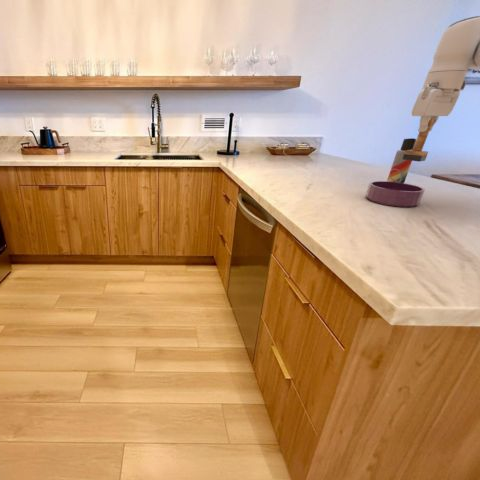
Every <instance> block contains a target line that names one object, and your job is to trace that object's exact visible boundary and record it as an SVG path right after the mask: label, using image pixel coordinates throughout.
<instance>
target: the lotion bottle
mask: <svg viewBox="0 0 480 480" xmlns="http://www.w3.org/2000/svg"><path fill="white" fill-rule="evenodd" d="M416 140H417V138H413V137H412V138H403V141H402V143H401V146H400V149H398V150H396V153H395V155H394V159H393V162H392V164H391V168H390V170H389V174H388V177H387V179H386V181H389V182H399V183H405V181H406V180H407V177H408V173H409V171H410V168H411V166H412V163H413V161H411V160H403V156H404V153H405V151H406V150H413V148H414V145H415V142H416Z"/></svg>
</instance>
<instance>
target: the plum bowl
mask: <svg viewBox="0 0 480 480" xmlns="http://www.w3.org/2000/svg"><path fill="white" fill-rule="evenodd" d="M424 193H425V188H423V187H421V186H418V185H416V184H411V183H405V182H404V183H399V182H389V181H387V180H376V181H375V180H374V181H371V182H369V185H368V187H367V191H366V194H365V197H366V198H367V199H368V200H369V201H371V202H373V203H376V204H379V205H383V206H384V205H385V206H389V207H397V208H409V207H410V208H412V207H415V206H417V205H419V204H421V200H422V198H423V197H424V196H423V195H424Z"/></svg>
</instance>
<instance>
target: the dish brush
mask: <svg viewBox="0 0 480 480" xmlns="http://www.w3.org/2000/svg"><path fill="white" fill-rule="evenodd" d="M433 120H434V119H430V120H429V122H428V128H427V131H425V132H419V131H418V134H417V137H416V142H415V145H414V148H413V150H406V151H405V153H404V156H403V160H411V161H412V162H419V163H420V162H425V161H426V160H427V157H428V154H429V151H427V150H423V149H424V146H425V144H426V141H427V138H428V136H429V133H430V132H431V131H430V128H431V126H432V123H433Z"/></svg>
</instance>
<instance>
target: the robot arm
mask: <svg viewBox="0 0 480 480" xmlns="http://www.w3.org/2000/svg"><path fill="white" fill-rule="evenodd" d="M432 58H433V59H432V60H433V62H432V65H431V66H430V68H429V69H428V72H427V75H426V77H425V80H424V83H423V85H422V88H421V90H420V91H419V93H418V95H417V97H416V99H415V102H414V103H413V107H412V109H411V116H412V117H419V127H418V129H417V131H418V133H419V132H425V131H427V128H428V122H429V120H430V119H434V120H433V123H432V126H431V128H430V131H429V132H431V131H432V130H433V128H434V126H435V125H436V123H437V122H438V120H439V118H440V117H448V116H450V114H451V113H452V111H453V110H454V108H455V106H456V103H457V102H458V99H459V97H460V94H461V91H464V90H465V87H466V85H467V82H466V80H465V79H466V75H467V73H468V70H473V71H477V72H480V15H475V16H471V17H467V18H463V19H460V20H457V21H456V22H453V23H452V24H450V25H449V26H447V27H446V28H445V30H444V32H443V34H442V35H441V37H440V40H439V41H438V44H437V47H436V49H435V52H434V54H433V57H432Z"/></svg>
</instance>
